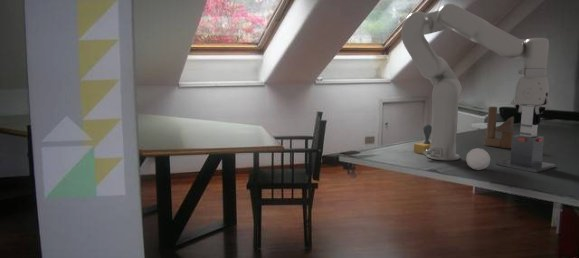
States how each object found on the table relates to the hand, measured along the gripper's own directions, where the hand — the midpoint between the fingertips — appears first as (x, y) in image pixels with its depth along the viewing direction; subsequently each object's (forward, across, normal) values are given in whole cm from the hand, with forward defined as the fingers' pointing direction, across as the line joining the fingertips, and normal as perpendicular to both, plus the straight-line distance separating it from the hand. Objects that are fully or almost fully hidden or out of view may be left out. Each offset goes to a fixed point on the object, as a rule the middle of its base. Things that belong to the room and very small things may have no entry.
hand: (529, 123), depth 152 cm
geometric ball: (+16, -7, -20) cm, 26 cm away
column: (+12, 0, 0) cm, 12 cm away
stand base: (+16, 0, 0) cm, 16 cm away
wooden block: (+16, -26, +26) cm, 40 cm away
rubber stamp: (+16, -37, -10) cm, 41 cm away
